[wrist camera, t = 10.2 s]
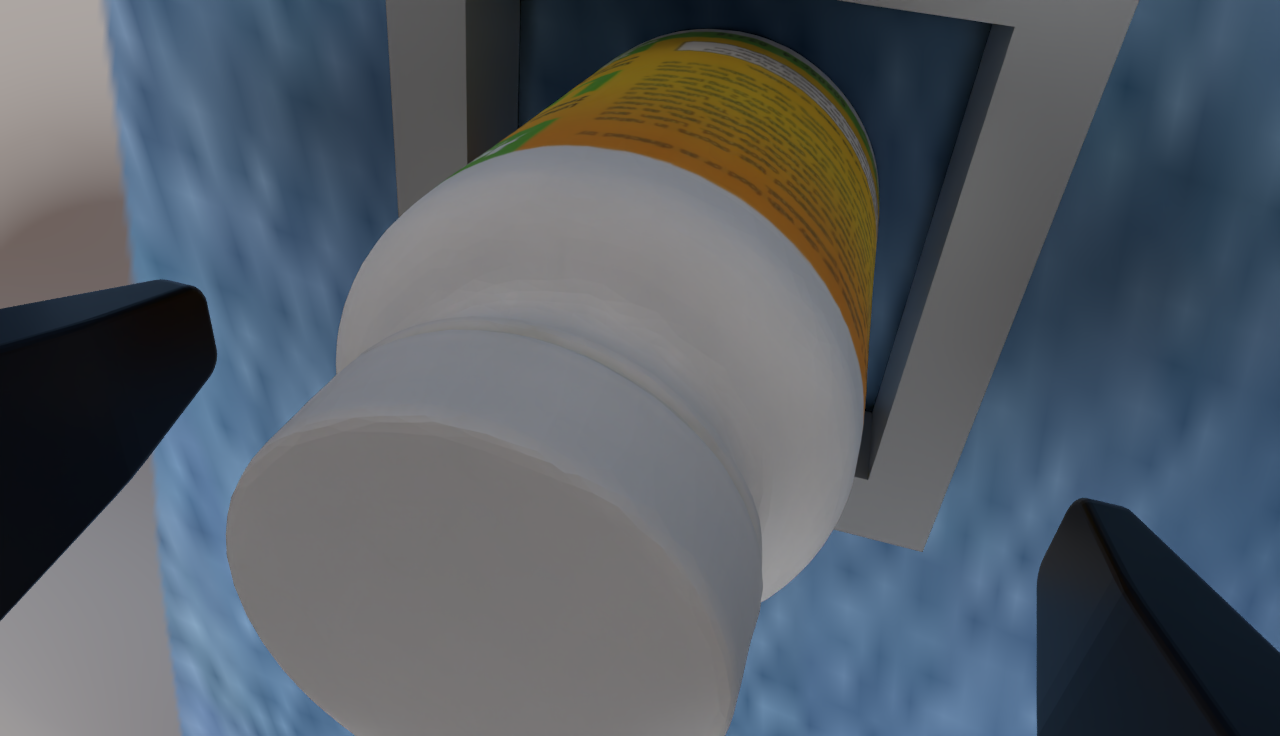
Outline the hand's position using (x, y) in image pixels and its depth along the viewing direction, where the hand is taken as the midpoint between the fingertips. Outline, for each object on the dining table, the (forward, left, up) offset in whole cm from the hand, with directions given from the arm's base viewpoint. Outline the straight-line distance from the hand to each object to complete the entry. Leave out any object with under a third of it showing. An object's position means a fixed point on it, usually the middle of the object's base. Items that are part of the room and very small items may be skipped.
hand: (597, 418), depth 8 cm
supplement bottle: (0, 0, -7) cm, 7 cm away
